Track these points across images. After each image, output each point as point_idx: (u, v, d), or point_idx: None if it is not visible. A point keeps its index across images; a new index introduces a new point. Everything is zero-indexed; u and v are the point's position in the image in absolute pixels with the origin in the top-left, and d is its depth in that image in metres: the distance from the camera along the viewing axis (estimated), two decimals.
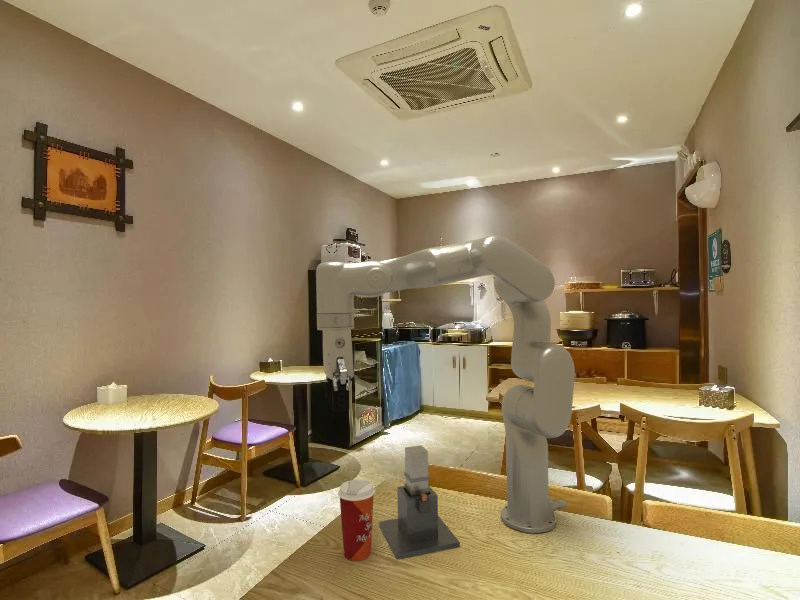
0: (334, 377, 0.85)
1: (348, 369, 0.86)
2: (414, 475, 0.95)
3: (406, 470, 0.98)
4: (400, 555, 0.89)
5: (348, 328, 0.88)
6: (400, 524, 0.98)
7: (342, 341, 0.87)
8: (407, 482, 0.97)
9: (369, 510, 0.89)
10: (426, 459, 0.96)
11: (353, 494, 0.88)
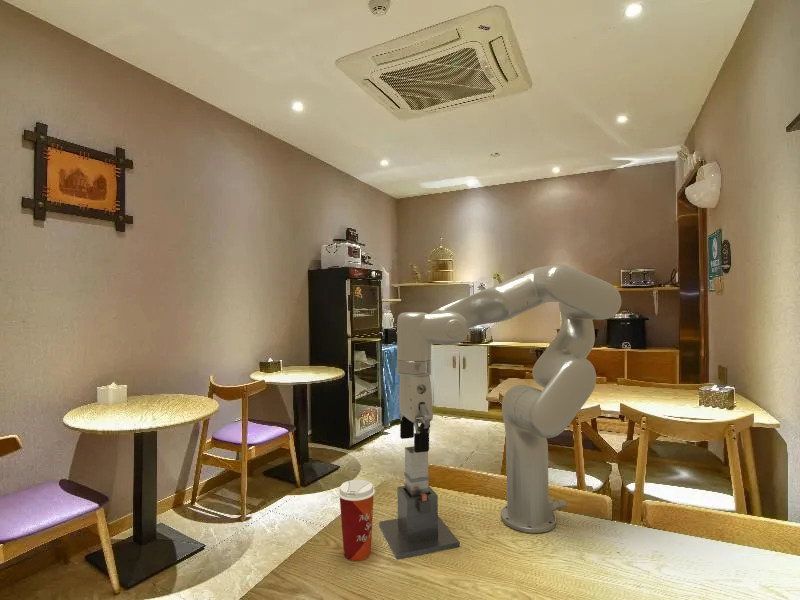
0: (416, 420, 0.92)
1: (428, 413, 0.93)
2: (414, 475, 0.95)
3: (406, 470, 0.98)
4: (400, 555, 0.89)
5: (427, 374, 0.95)
6: (400, 524, 0.98)
7: (422, 387, 0.94)
8: (407, 482, 0.97)
9: (369, 510, 0.89)
10: (426, 459, 0.96)
11: (353, 494, 0.88)
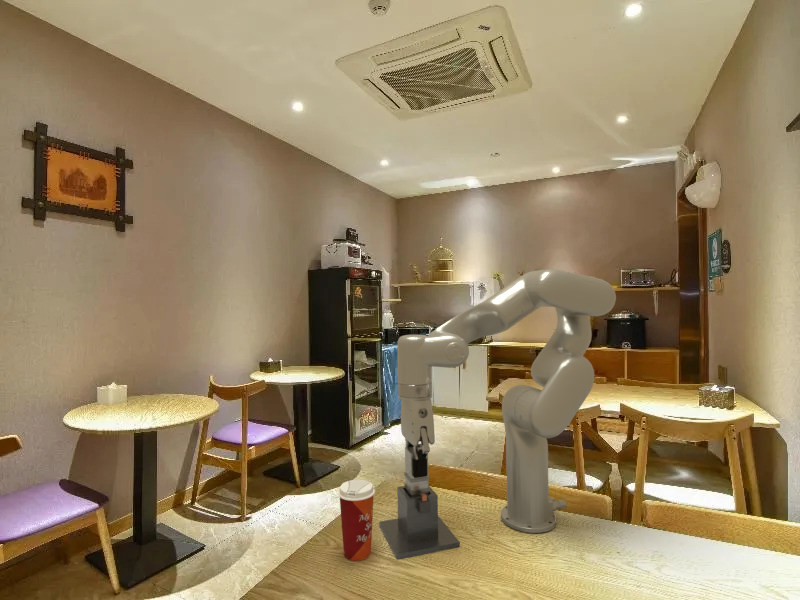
0: (416, 447, 0.94)
1: (430, 437, 0.93)
2: None
3: (406, 470, 0.98)
4: (400, 555, 0.89)
5: (429, 397, 0.95)
6: (400, 524, 0.98)
7: (424, 410, 0.94)
8: (407, 482, 0.97)
9: (369, 510, 0.89)
10: None
11: (353, 494, 0.88)
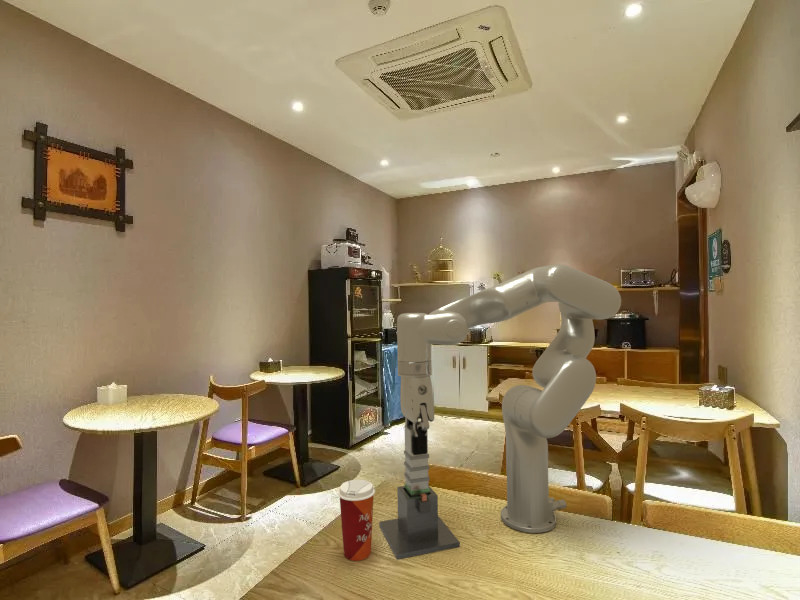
0: (415, 424, 0.94)
1: (430, 414, 0.93)
2: None
3: (405, 448, 0.98)
4: (400, 555, 0.89)
5: (428, 375, 0.95)
6: (400, 524, 0.98)
7: (423, 387, 0.94)
8: (407, 460, 0.97)
9: (369, 510, 0.89)
10: None
11: (353, 494, 0.88)
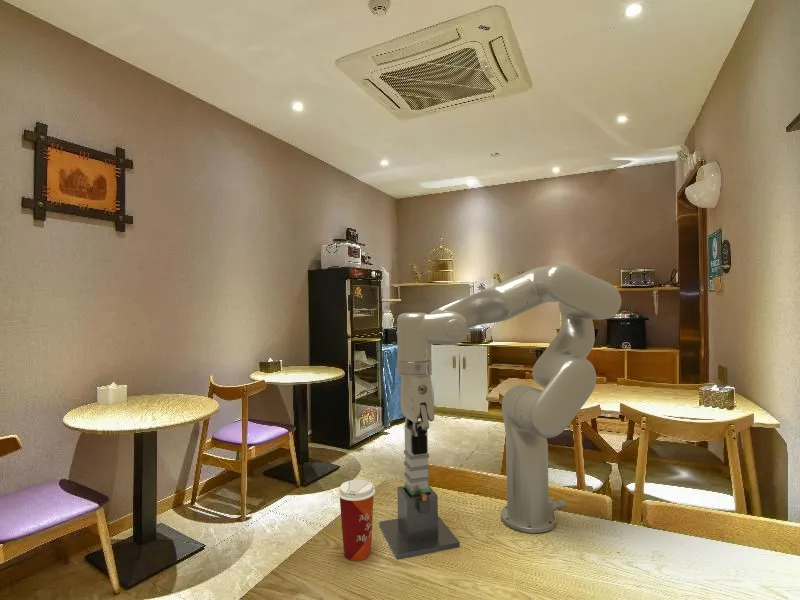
0: (415, 424, 0.94)
1: (430, 413, 0.93)
2: None
3: (405, 448, 0.98)
4: (400, 555, 0.89)
5: (428, 375, 0.95)
6: (400, 524, 0.98)
7: (424, 387, 0.94)
8: (407, 460, 0.97)
9: (369, 510, 0.89)
10: None
11: (353, 494, 0.88)
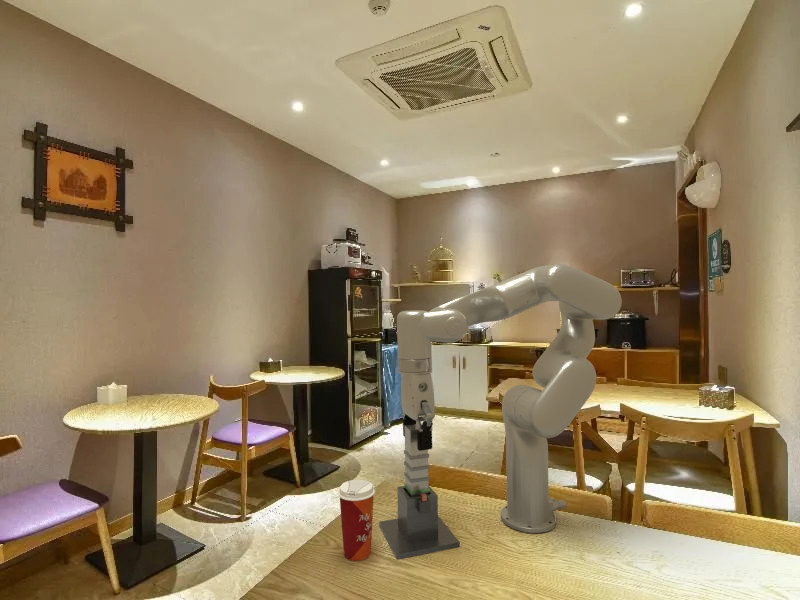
0: (418, 419, 0.93)
1: (431, 411, 0.93)
2: (414, 452, 0.95)
3: (405, 448, 0.98)
4: (400, 555, 0.89)
5: (429, 372, 0.95)
6: (400, 524, 0.98)
7: (424, 385, 0.94)
8: (407, 460, 0.97)
9: (369, 510, 0.89)
10: None
11: (353, 494, 0.88)
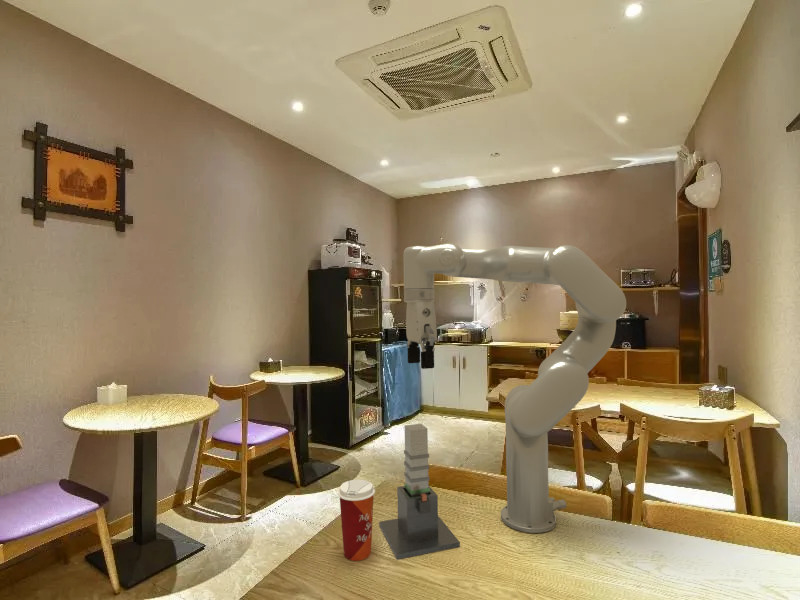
0: (422, 340, 1.04)
1: None
2: (414, 452, 0.95)
3: (405, 448, 0.98)
4: (400, 555, 0.89)
5: (431, 301, 1.06)
6: (400, 524, 0.98)
7: (427, 311, 1.05)
8: (407, 460, 0.97)
9: (369, 510, 0.89)
10: (426, 436, 0.96)
11: (353, 494, 0.88)
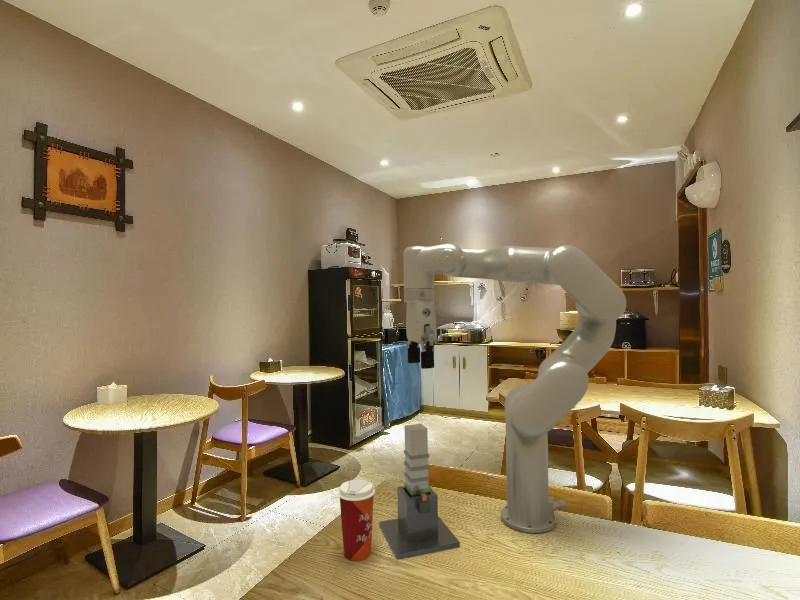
0: (422, 340, 1.04)
1: None
2: (414, 452, 0.95)
3: (405, 448, 0.98)
4: (400, 555, 0.89)
5: (431, 301, 1.06)
6: (400, 524, 0.98)
7: (427, 311, 1.05)
8: (407, 460, 0.97)
9: (369, 510, 0.89)
10: (426, 436, 0.96)
11: (353, 494, 0.88)
